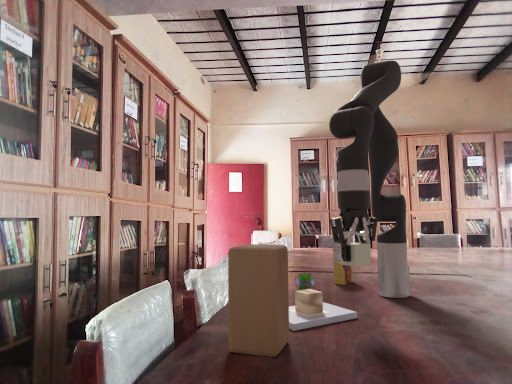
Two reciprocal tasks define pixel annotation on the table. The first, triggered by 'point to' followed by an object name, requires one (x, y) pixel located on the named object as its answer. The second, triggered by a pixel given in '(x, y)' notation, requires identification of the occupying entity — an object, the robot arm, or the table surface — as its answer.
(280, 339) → the wooden block
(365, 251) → the sage cap block
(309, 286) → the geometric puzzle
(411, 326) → the table surface
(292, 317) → the board
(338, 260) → the candy box
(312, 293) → the maple block
